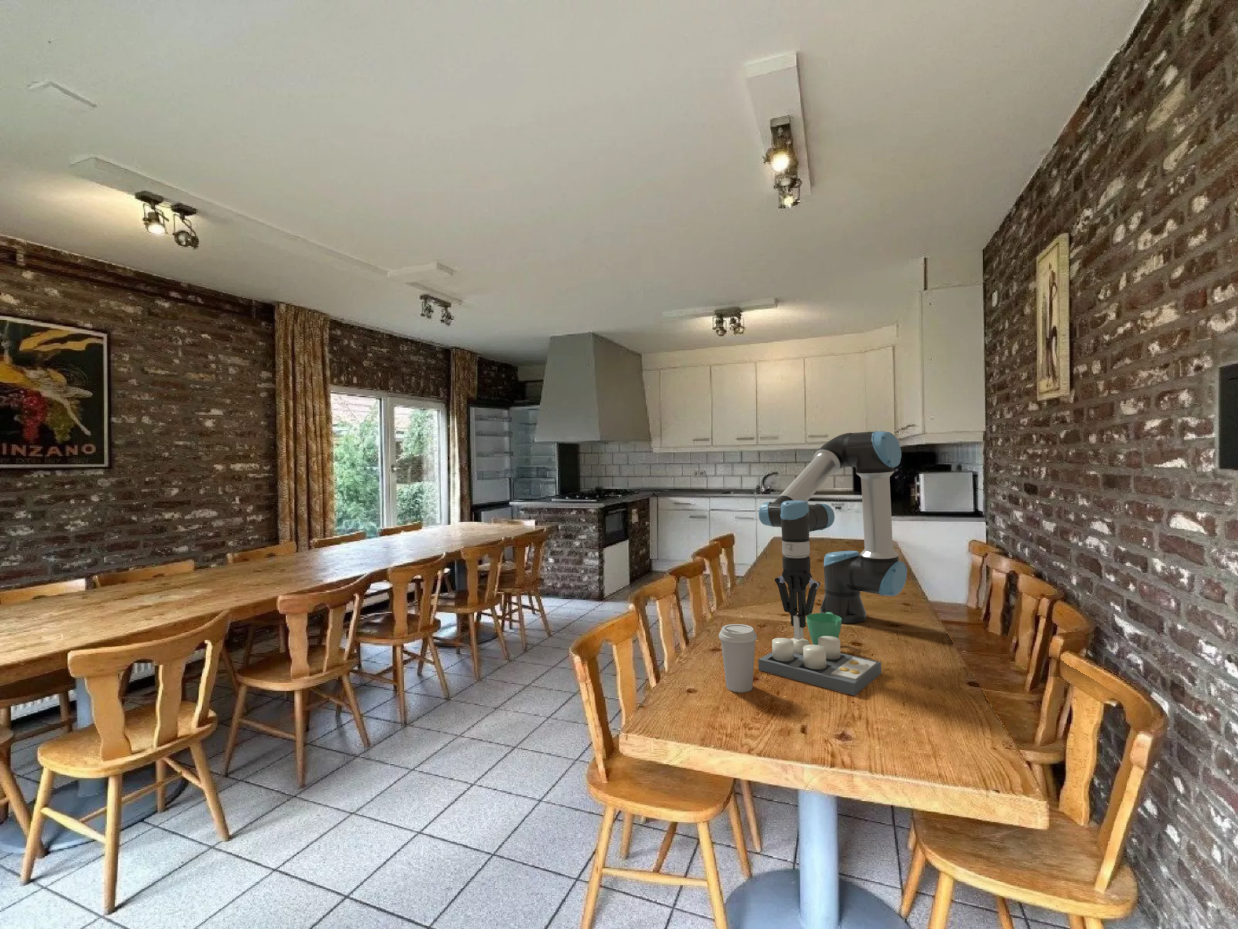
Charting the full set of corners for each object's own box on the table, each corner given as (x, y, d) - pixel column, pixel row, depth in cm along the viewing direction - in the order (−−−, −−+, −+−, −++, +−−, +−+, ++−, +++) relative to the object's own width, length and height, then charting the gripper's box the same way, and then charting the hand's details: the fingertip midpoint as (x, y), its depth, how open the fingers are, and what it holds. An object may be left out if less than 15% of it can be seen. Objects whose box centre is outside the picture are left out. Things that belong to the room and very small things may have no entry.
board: (790, 652, 169) (789, 639, 169) (881, 673, 151) (881, 659, 151) (758, 670, 156) (758, 657, 156) (854, 695, 138) (854, 681, 138)
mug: (839, 659, 162) (838, 624, 162) (803, 654, 167) (802, 620, 167) (847, 643, 174) (846, 611, 174) (814, 639, 179) (813, 607, 179)
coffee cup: (713, 684, 148) (711, 626, 147) (743, 677, 152) (742, 621, 151) (734, 698, 139) (732, 636, 139) (766, 690, 143) (764, 630, 142)
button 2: (794, 651, 166) (793, 636, 166) (812, 656, 162) (812, 640, 162) (784, 657, 162) (784, 641, 162) (803, 661, 158) (803, 645, 158)
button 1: (778, 652, 160) (778, 636, 160) (797, 656, 156) (797, 640, 156) (768, 658, 156) (768, 641, 156) (787, 662, 152) (787, 646, 152)
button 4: (824, 650, 160) (823, 634, 160) (843, 655, 156) (843, 638, 156) (815, 656, 156) (814, 639, 156) (835, 660, 152) (834, 644, 152)
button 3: (809, 659, 153) (809, 643, 153) (829, 664, 150) (829, 647, 149) (799, 665, 149) (799, 648, 149) (820, 671, 146) (820, 653, 145)
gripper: (768, 555, 164) (771, 637, 164) (812, 560, 154) (814, 646, 155) (781, 551, 169) (784, 630, 170) (824, 555, 160) (826, 639, 161)
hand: (798, 637), depth 162 cm, fingers closed
